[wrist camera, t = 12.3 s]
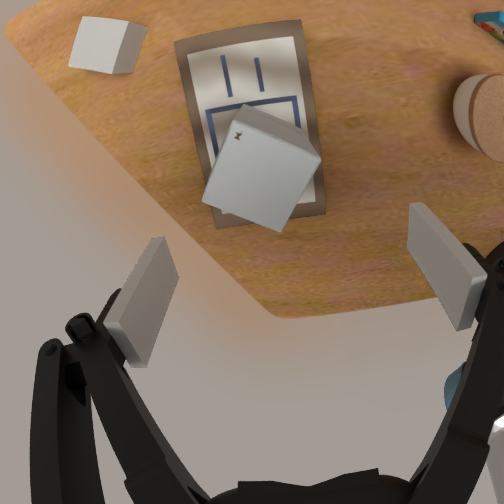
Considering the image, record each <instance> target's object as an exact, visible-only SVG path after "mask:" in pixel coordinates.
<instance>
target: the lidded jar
mask: <svg viewBox="0 0 504 504" xmlns="http://www.w3.org/2000/svg"><path fill="white" fill-rule="evenodd" d="M453 115H454V119H455V123H456V125H457V128H458V130H459V131H460V133H461V135H462V136H463V137H464V139H465V140H466V141H467V142H468V143H469V144H470V145H471V146H472V147H474V148H475V149H476V150H478V151H479V152H481V153H482V154H484V155H485V156H486V157H488V158H489V159H491V160H493V161H495V162H499V163H504V75H502V74H477V75H474V76H471V77H469V78H467V79H466V80H464V81H463V82H462V83H461V84H460V86H459V87H458V89H457V91H456V93H455V96H454V100H453Z"/></svg>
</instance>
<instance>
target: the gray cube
mask: <svg viewBox="0 0 504 504" xmlns="http://www.w3.org/2000/svg"><path fill="white" fill-rule="evenodd" d="M148 28H149V27H146V26H143V25H140V24H137V23H133V22H130V21H124V20H116V19H108V18H98V17H85V16H83V17H82V20H81V23H80V26H79V29H78V32H77V36H76V39H75V42H74V46H73V49H72V53H71V56H70V60H69V64H68V67H75V68H81V69H87V70H93V71H98V72H104V73H109V74H120V73H134V69H135V66H136V63H137V60H138V57H139V54H140V51H141V48H142V45H143V42H144V39H145V36H146V34H147V31H148Z"/></svg>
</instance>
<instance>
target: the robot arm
mask: <svg viewBox="0 0 504 504" xmlns="http://www.w3.org/2000/svg"><path fill="white" fill-rule="evenodd" d="M407 249H408V251H409V252H410V254H411V255H412V257H413V259H414V260H415V262H416V263H417V265H418V266H419V268H420V269H421V271H422V273H423V274H424V276H425V277H426V279H427V281H428V282H429V284H430V286H431V287H432V289H433V291H434V292H435V294H436V296H437V297H438V299H439V300H440V302H441V304H442V306H443V308H444V309H445V311H446V313H447V315H448V316H449V318H450V320H451V322H452V324H453V326H454V328H455V329H456V331H459V330H463V329H467V328H470V327H471V325H472V323H473V320H474V317H475V318H476V320H477V321H478V326H477V329H476V331H475V334H474V336H473V339H472V345H471V349H470V352H469V355H468V358H467V361H466V362H464V363H463V364H462V365H461V367H459V368H458V369H457V370H456V371H454V372H453V373H452V374H451V375H449V376H448V378H447V380H446V382H445V386H444V398H445V405H446V409H447V413H446V415H445V417H444V419H443V421H442V423H441V426H440V428H439V430H438V432H437V434H436V436H435V438H434V440H433V442H432V444H431V446H430V448H429V450H428V451H427V453H426V455H425V457H424V459H423V461H422V462H421V464H420V466H419V467H418V468H417V470H416V472H415V473H414V474H413V476H412V478H411V479H410V481H409V482H408V481H406V480H403V479H401V478H398V477H394V476H389V475H379V472H378V468H376V469H371V470H366V471H360V472H355V473H348V474H343V475H341V476H338V477H336V478H333V479H330V480H327V481H324V482H321V483H318V484H315V485H312V486H299V485H293V484H287V483H281V482H275V481H238V488H235V489H232V490H229V491H226V492H224V493H221V494H219V495H217V496H215V497H213V498H212V499H211V498H210V497H209V496H208V495H207V494H206V492H204V491H203V489H202V488H201V487H200V486H199V485H198V484H197V483H196V481H195V480H194V479H193V477H192V476H191V475H190V473H189V472H188V471H187V469H186V468H185V466H184V465H183V463H182V462H181V461H180V459H179V458H178V456H177V455H176V453H175V452H174V450H173V449H172V447H171V446H170V444H169V443H168V441H167V440H166V438H165V437H164V435H163V433H162V432H161V430H160V429H159V427H158V426H157V424H156V422H155V421H154V419H153V417H152V416H151V414H150V412H149V411H148V409H147V407H146V406H145V404H144V402H143V400H142V399H141V397H140V395H139V394H138V392H137V390H136V388H135V386H134V384H133V382H132V380H131V379H130V377H129V375H128V373H127V371H126V369H125V368H124V367H123V365H124V362H125V360H127V362H128V363H129V365H130V366H131V367H133V368H146V367H147V364H148V361H149V358H150V356H151V353H152V350H153V347H154V344H155V342H156V339H157V336H158V333H159V330H160V327H161V325H162V322H163V319H164V317H165V314H166V311H167V308H168V306H169V303H170V300H171V298H172V295H173V292H174V290H175V287H176V285H177V282H178V279H179V276H178V273H177V270H176V268H175V265H174V262H173V259H172V257H171V254H170V251H169V248H168V245H167V242H166V240H165V237H158V238H152V239H151V241H150V242H149V244H148V246H147V247H146V249H145V251H144V252H143V254H142V256H141V257H140V259H139V261H138V262H137V264H136V265H135V267H134V269H133V271H132V272H131V274H130V275H129V277H128V279H127V281H126V282H125V284H124V286H123V287H122V288H120V289H117V290H116V291H115V292H114V293H113V294H112V295H111V296H110V298H109V300H108V301H107V304H106V305H105V307H104V308H103V309H104V310H102V312H101V314H100V315H99V317H98V319H97V321H96V323H95V322H94V320H93V318H92V317H91V315H90V314H89V313H80V314H78V315H76V316H74V317H73V318H72V319H70V320H69V322H68V323H67V325H66V327H65V331H66V333H67V334H68V336H69V337H70V339H71V340H72V341H73V343H72V344H69V345H65V346H64V345H63V344H62V342H61V341H60V340H59V339H56V338H54V339H50V340H49V341H47V342H45V343H44V344H43V345H42V347H41V348H40V350H39V354H38V360H37V366H36V374H35V381H34V390H33V400H32V412H31V428H30V485H31V501H32V504H105V500H104V496H103V490H102V485H101V480H100V474H99V468H98V462H97V455H96V447H95V439H94V430H93V421H92V410H91V397H92V399H93V402H94V405H95V407H96V410H97V412H98V415H99V417H100V420H101V422H102V425H103V427H104V430H105V432H106V434H107V437H108V439H109V441H110V443H111V445H112V448H113V450H114V452H115V454H116V456H117V458H118V460H119V462H120V464H121V466H122V469H123V470H124V472H125V474H126V478H127V479H126V480H125V481H124V484H125V487H126V489H127V491H128V493H129V495H130V497H131V499H132V500H133V502H134V504H467V502H468V500H469V498H470V496H471V494H472V492H473V490H474V488H475V485H476V483H477V481H478V479H479V476H480V474H481V472H482V469H483V467H484V464H485V462H487V466H488V469H489V472H490V476H491V479H492V483H493V486H494V490H495V494H496V498H497V502H498V504H504V242H503V243H502V244H501V245H499V246H498V247H497V248H496V249H495V250H494V251H493V252H492V253H491V254H490V255H489V256H488V257H487V259H486V260H485V259H484V258H483V256H481V254H480V253H479V252H478V251H477V250H476V249H475V248H474V247H473V246H471V245H469V244H468V243H462V244H461V243H460V241H459V240H458V239H457V238H456V237H455V236H454V235H453V234H452V233H451V231H450V230H449V229H448V228H447V227H446V226H445V225H444V224H443V223H442V222H441V221H440V220H439V219H438V218H437V217H436V216H435V215H434V214H433V213H432V212H431V211H430V210H429V209H428V208H427V207H426V206H425V205H424V204H423V203H422V202H416V203H409V223H408V238H407Z"/></svg>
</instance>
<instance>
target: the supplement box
mask: <svg viewBox="0 0 504 504" xmlns="http://www.w3.org/2000/svg"><path fill="white" fill-rule="evenodd" d="M320 163H321V158H320V156H319V155H318V153H317V152H316V150H315V149H314V147H313V146H312V144H311V143H310V141H309V140H308V138H307V137H306V136H305V134H304V132H303V131H302V130H301V129H300V128H298V127H296V126H294V125H292V124H290V123H288V122H286V121H284V120H282V119H279V118H277V117H275V116H272V115H270V114H268V113H265V112H263V111H260V110H258V109H256V108H253V107H251V106H248V105H246V104H243V105H242V107H241V108H240V110H239V111H238V113H237V114H236V116H235V117H234V118H233V120H232V122H231V124H230V126H229V129H228V131H227V133H226V135H225V138H224V140H223V142H222V145H221V147H220V150H219V152H218V155H217V157H216V160H215V162H214V165H213V168H212V171H211V173H210V176H209V179H208V182H207V185H206V188H205V191H204V194H203V197H202V200H201V201H202V202H203V203H206V204H208V205H211V206H213V207H216V208H218V209H221V210H224V211H226V212H229V213H231V214H234V215H236V216H239V217H241V218H244V219H246V220H249V221H252V222H254V223H257V224H259V225H262V226H264V227H267V228H269V229H272V230H274V231H277V232H279V233H281V232H282V230H283V228H284V226H285V224H286V222H287V220H288V219H289V217H290V215H291V213H292V211H293V210H294V208H295V206H296V204H297V203H298V201H299V199H300V197H301V196H302V194H303V192H304V190H305V189H306V187H307V185H308V183H309V182H310V180H311V178H312V176H313V175H314V173H315V171H316V169H317V168H318V166H319V164H320Z"/></svg>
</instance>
